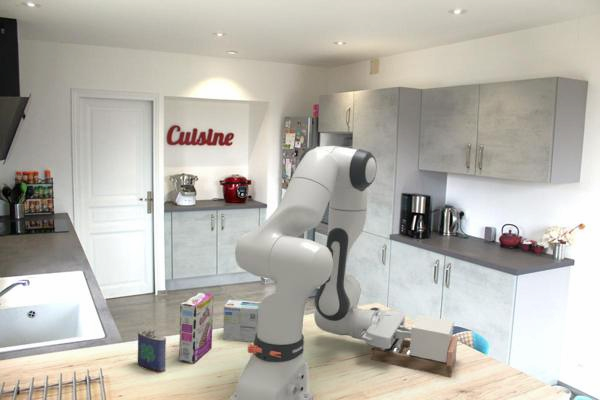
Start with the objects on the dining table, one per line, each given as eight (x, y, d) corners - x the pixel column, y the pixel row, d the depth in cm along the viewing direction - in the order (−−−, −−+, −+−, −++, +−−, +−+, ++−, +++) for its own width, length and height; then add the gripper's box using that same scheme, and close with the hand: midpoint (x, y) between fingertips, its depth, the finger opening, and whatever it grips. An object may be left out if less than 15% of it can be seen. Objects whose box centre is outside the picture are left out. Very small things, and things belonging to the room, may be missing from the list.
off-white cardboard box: (409, 354, 139) (411, 327, 138) (416, 340, 149) (418, 314, 148) (446, 362, 135) (448, 334, 134) (451, 347, 145) (453, 321, 144)
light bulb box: (261, 334, 158) (262, 301, 156) (257, 342, 151) (258, 308, 150) (227, 331, 159) (228, 298, 157) (222, 340, 152) (223, 305, 151)
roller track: (370, 359, 143) (372, 336, 142) (381, 344, 154) (382, 322, 153) (450, 377, 134) (452, 352, 133) (455, 359, 145) (457, 336, 144)
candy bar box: (194, 364, 135) (195, 306, 133) (178, 361, 137) (179, 303, 135) (213, 348, 146) (214, 294, 144) (197, 345, 147) (198, 291, 145)
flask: (167, 369, 132) (167, 331, 130) (159, 374, 129) (159, 334, 128) (142, 361, 136) (142, 323, 135) (134, 365, 134) (133, 326, 132)
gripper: (357, 327, 139) (407, 336, 133) (376, 305, 157) (421, 313, 152) (356, 348, 140) (405, 359, 134) (375, 324, 158) (419, 332, 153)
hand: (414, 334), depth 143 cm, fingers closed, pressing on off-white cardboard box
